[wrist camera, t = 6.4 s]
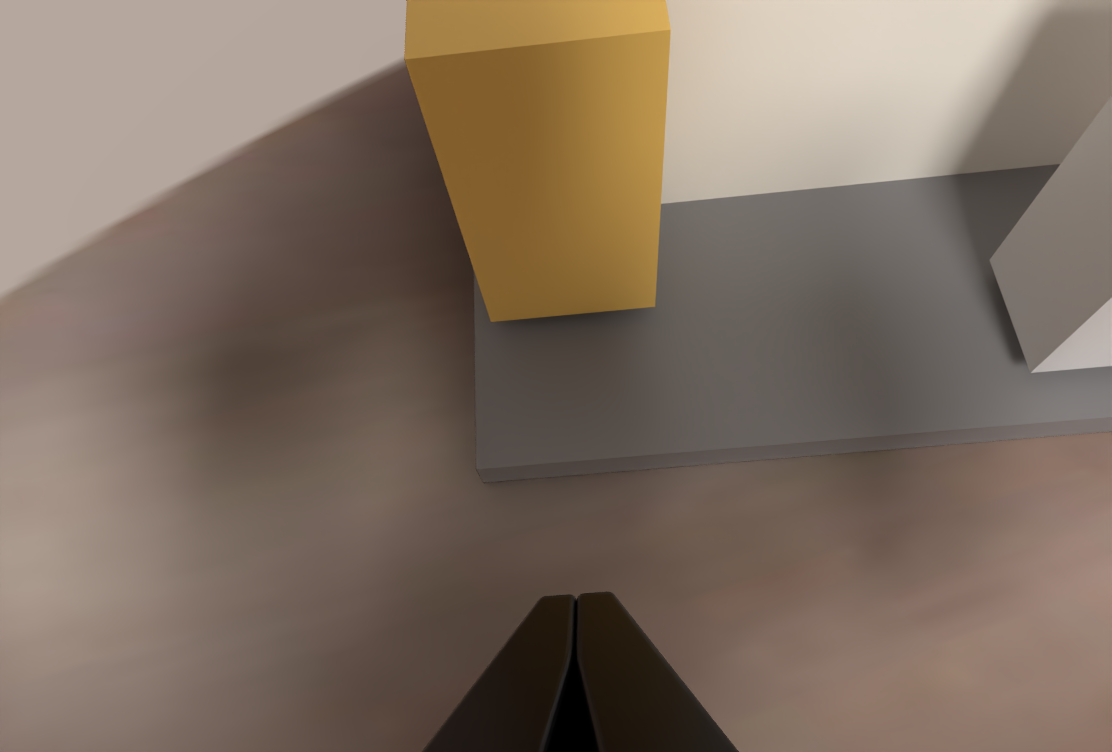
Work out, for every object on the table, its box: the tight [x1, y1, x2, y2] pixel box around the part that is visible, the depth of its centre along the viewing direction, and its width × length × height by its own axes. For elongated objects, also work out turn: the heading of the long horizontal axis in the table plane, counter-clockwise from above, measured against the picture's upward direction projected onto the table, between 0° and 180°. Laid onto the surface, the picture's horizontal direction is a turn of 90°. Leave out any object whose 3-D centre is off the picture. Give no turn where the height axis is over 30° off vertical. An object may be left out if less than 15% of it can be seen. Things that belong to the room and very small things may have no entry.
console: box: [474, 0, 1112, 483], centre depth 15 cm, size 11×17×12 cm, turn 93°
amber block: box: [404, 0, 671, 322], centre depth 16 cm, size 3×4×8 cm
